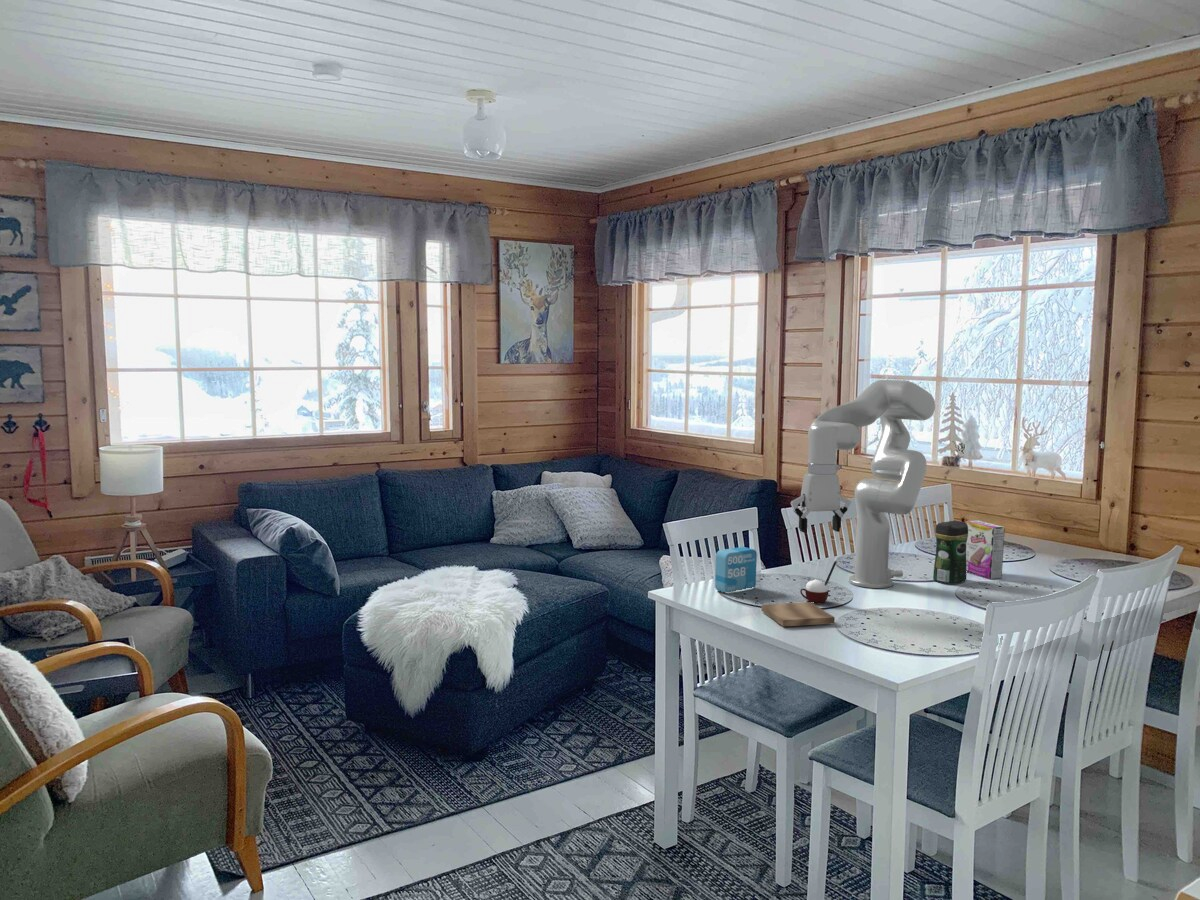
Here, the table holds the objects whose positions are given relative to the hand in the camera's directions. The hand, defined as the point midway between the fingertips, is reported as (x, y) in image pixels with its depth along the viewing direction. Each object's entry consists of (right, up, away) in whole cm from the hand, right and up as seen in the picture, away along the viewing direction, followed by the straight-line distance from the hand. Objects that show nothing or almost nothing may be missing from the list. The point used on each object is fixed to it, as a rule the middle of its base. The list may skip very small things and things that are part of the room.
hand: (819, 531), depth 248 cm
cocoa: (0, -20, +2) cm, 20 cm away
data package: (-21, -19, +14) cm, 31 cm away
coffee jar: (+46, -18, +27) cm, 56 cm away
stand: (-9, -22, -13) cm, 27 cm away
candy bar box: (+59, -17, +35) cm, 71 cm away
